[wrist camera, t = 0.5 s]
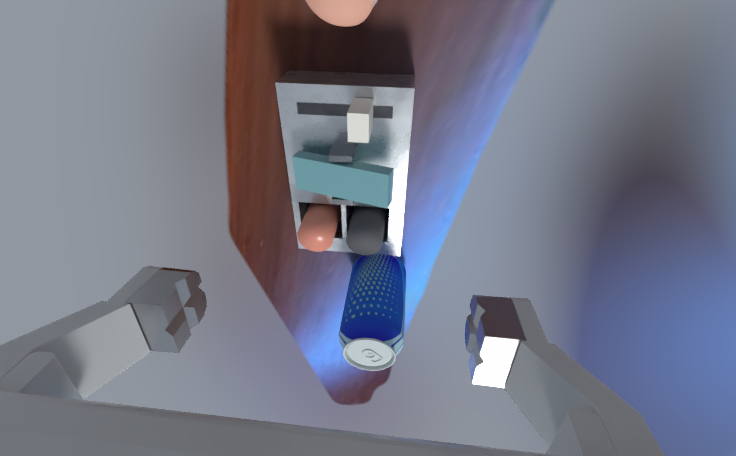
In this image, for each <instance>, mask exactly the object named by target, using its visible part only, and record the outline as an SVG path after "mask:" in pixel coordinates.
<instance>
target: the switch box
mask: <svg viewBox="0 0 736 456" xmlns="http://www.w3.org/2000/svg"><path fill="white" fill-rule="evenodd" d="M275 84H276V91H277V98H278V105H279V113H280V120H281V127H282V134H283V141H284V148H285V155H286V162H287V169H288V176H289V183H290V190H291V197H292V204H293V211H294V218H295V225H296V233H298V230H299V227H300V225H301V223H302V220H303V218H304V216H305V213H306V211H307V209H308V206H309V204H310V203H321V204H336V205H341V214H342V216H340V219H339V223H338V226H337V229H336V233H335V236H334V240H333V243H332V245H331V247H330V248H329V249H327V251H339V252H352V253H355V252H353V251H352V250H351V249H350V248H349V247H348V245H347V243H346V237H347V233H348V229H349V225H350V221H351V217H352V206H365V207H378V206H373V205H369V204H364V203H360V202H355V201H351V200H346V199H342V198H337V197H333V196H328V195H324V194H319V193H315V192H310V191H306V190H301V189H297V188H296V183H295V176H294V168H293V160H292V156H293V155H294V154H296V153H297V152H298V151H299V150H300V151H305V152H311V153H316V154H321V155H327V156H329V162H346V163H352V162H353V161H358V162H364V163H369V164H374V165H380V166H385V167H390V168H394V175H393V192H392V202H391V203H390V205H389V207H388V208H390V209H389V220H385V227H384V235H383V244H382V247H381V249H380V250H379V251H378V252H377V253H375V254H378V255H390V256H400V253H401V242H402V230H403V218H404V206H405V195H406V183H407V171H408V160H409V148H410V136H411V125H412V113H413V101H414V89H415V75H407V74H381V73H355V72H329V71H303V70H289V71H287V72H286V73H285V74H284V75H283V76H282V77H281V78H280V79H279V80H278V81H276V82H275ZM353 98H371V99H373V128H372V132H371V135H370V139H369V143H357V142H348V132H347V112H348V110H349V107H350V105H351V103H352V100H353ZM380 208H382V207H380ZM297 240H298V237H297ZM298 247H299V248H301V249H307V248H305V247H304V246H302V245H301V243H300V242H299V240H298Z"/></svg>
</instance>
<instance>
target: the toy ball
mask: <svg viewBox="0 0 736 456" xmlns="http://www.w3.org/2000/svg"><path fill="white" fill-rule="evenodd" d="M305 1H306V2H307V4H308V5H309V7H310V8H311V9H312V11H313V12H314V13H315V14H316V15H317V16H319V17H320V18H321V19H323V20H324V21H326V22H328V23H330V24H333V25H336V26H344V27H347V26H355V25H358V24H360V23H362V22H363V21H364V20H365V19H366V18H367V17H368V15H369V14H370V12H371V10H372V8H373V7H374V6H375V4H376V3H377V1H378V0H305Z"/></svg>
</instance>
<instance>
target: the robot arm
mask: <svg viewBox="0 0 736 456" xmlns="http://www.w3.org/2000/svg"><path fill="white" fill-rule="evenodd" d="M200 283H201V278H200V275H199V273H198V272H196V271H191V270H183V269H175V268H165V267H164V268H162V267H154V266H147V267H144V268H142V269H141V270H140V271H139V272H138V273H137V274H136V275H135V276H134V277H133V278H131V279H130V280H129V281H128V282H127V283H126V284H125V285H124V286H123V287H122V288H121V289H120V290H119V291H118V292H117V293H116V294H114V295H113V296H112V297H111V298H110V299H109V300H108V301H107V302H106V301H101V302H99V303H96V304H94V305H92V306H90V307H87V308H85V309H83V310H80V311H78V312H76V313H73V314H71V315H69V316H67V317H64V318H62V319H60V320H57V321H55V322H53V323H51V324H49V325H46V326H44V327H41V328H39V329H37V330H34V331H32V332H30V333H28V334H25V335H23V336H21V337H18V338H16V339H14V340H11V341H9V342H7V343H5V344H2V345H0V456H664V454H663V453H662V451H661V449H660V447H659V445H658V444H657V442H656V440H655V438H654V437H653V435H652V433H651V432H650V430H649V428H648V426H647V425H646V423H645V421H644V419H643V418H642V416H641V414H640V413H638V412H637V411H636V410H635V409H634V408H632V407H631V406H630V405H629V404H627V403H626V402H625V401H624V400H622V399H621V398H620V397H619V396H618V395H616V394H615V393H614V392H613V391H611V390H610V389H609V388H608V387H607V386H605V385H604V384H603V383H602V382H600V381H599V380H598V379H597V378H595V377H594V376H593V375H592V374H591V373H589V372H588V371H587V370H586V369H584V368H583V367H582V366H581V365H580V364H578V363H577V362H576V361H575V360H573V359H572V358H571V357H570V356H568V355H567V354H566V353H565V352H564V351H562V350H561V349H560V348H559V347H557V346H556V345H555V344H550V343H548V341H547V338H546V336H545V334H544V331H543V329H542V326H541V324H540V322H539V320H538V317H537V315H536V312H535V310H534V308H533V305H532V303H531V301H530V300H529V299H526V298H511V297H510V298H507V297H493V296H481V295H473V297H472V299H471V303H470V308H471V314H470V315H469V316H468V317H467V321H466V326H465V343H466V349H467V351H468V352H469V353H470V354H471V355H470V359H469V368H470V373H471V379H472V383H473V384H480V385H488V386H495V387H503V388H504V390H505V391H506V392H507V394H508V395H509V396H510V398H511V399H512V400H513V401H514V403H515V404H516V405H517V406H518V408H519V409H520V410H521V411H522V413H523V414H524V415H525V417H526V418H527V419H528V420H529V422H530V423H531V424H532V426H533V427H534V428H535V429H536V431H537V432H538V433H539V434H540V436H541V437H542V438H543V439H544V441H545V442H546V443H547V445H548V446H549V449H548V451H547V453H546V454H541V453H532V452H524V451H515V450H507V449H497V448H490V447H481V446H473V445H464V444H456V443H446V442H438V441H430V440H421V439H413V438H404V437H395V436H386V435H377V434H369V433H360V432H352V431H342V430H334V429H326V428H317V427H308V426H300V425H291V424H283V423H275V422H266V421H257V420H249V419H241V418H233V417H223V416H216V415H207V414H198V413H190V412H181V411H173V410H164V409H156V408H147V407H138V406H130V405H121V404H113V403H104V402H96V401H87V400H83V399H85V398H86V397H87V396H89V395H90V394H92V393H93V392H95V391H96V390H97V389H99V388H100V387H102V386H103V385H105V384H106V383H107V382H109V381H110V380H112V379H113V378H114V377H116V376H117V375H119V374H120V373H121V372H123V371H124V370H126V369H127V368H129V367H130V366H131V365H133V364H134V363H136V362H137V361H139V360H140V359H141V358H143V357H144V356H146V355H147V354H149V353H150V351H161V352H174V353H179V352H180V350H181V349H182V347H183V346H184V345H185V343H186V341H187V340H188V339H189V337H190V336H191V332H190V328H192V327H194V326H196V325H197V324H199V323H200V321H201V320H202V318H203V316H204V314H205V310H206V307H207V305H206V304H207V300H206V295H205V293H204V292H203V291H202V290H201V289H200V288H199V285H200Z"/></svg>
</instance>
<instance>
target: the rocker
mask: <svg viewBox="0 0 736 456" xmlns="http://www.w3.org/2000/svg"><path fill="white" fill-rule="evenodd" d="M292 160H293V168H294V176H295V183H296V188H297V189H301V190H306V191H310V192H315V193H319V194H324V195H328V196H333V197H337V198H342V199H346V200H351V201H355V202H360V203H364V204H369V205H373V206H378V207H382V208H388V207H389V205H390V203H391V202H392V192H393V175H394V168H390V167H385V166H380V165H374V164H369V163H364V162H358V161H353V162H352V163H346V162H329V156H327V155H321V154H316V153H311V152H305V151H300V150H299V151H298V152H297V153H296V154H294V155H293V156H292Z"/></svg>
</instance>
